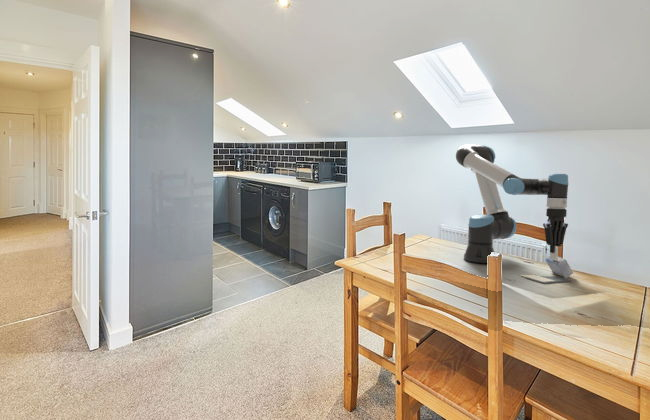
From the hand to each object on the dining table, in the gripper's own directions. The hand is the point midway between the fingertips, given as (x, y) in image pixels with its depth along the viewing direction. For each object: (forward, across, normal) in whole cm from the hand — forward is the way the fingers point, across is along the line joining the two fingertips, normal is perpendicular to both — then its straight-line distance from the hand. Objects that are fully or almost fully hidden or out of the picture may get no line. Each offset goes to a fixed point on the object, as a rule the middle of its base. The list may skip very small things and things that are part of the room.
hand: (553, 259), depth 154 cm
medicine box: (+7, +7, 0) cm, 9 cm away
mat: (+8, -5, 0) cm, 10 cm away
